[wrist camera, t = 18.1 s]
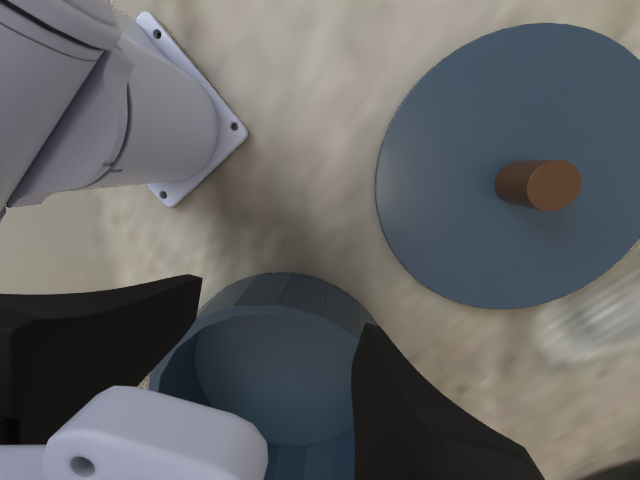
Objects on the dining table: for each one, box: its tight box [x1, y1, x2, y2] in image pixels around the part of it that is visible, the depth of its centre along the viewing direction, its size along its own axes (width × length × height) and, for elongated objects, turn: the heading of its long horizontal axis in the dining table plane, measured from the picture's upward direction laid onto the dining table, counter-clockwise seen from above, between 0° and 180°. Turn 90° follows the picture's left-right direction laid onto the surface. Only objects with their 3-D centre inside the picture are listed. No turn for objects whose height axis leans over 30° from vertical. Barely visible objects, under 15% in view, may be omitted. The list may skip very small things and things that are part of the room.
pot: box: [148, 272, 377, 480], centre depth 21 cm, size 16×16×5 cm
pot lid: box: [375, 23, 640, 309], centre depth 17 cm, size 17×17×4 cm
